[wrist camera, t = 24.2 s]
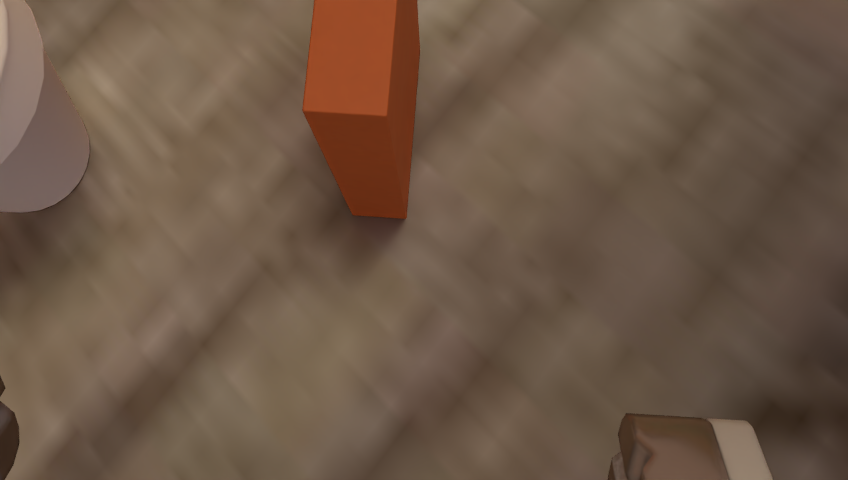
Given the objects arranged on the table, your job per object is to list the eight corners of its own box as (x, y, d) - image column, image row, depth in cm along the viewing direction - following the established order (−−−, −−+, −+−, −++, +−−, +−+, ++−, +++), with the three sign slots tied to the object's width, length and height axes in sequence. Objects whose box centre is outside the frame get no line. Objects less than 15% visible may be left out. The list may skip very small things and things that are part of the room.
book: (420, 47, 45) (409, -141, 29) (406, 219, 43) (387, 116, 27) (368, 44, 45) (330, -145, 29) (352, 215, 43) (301, 110, 27)
